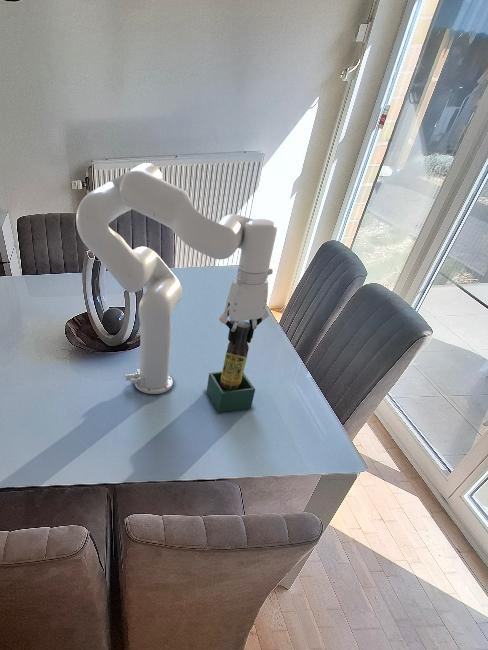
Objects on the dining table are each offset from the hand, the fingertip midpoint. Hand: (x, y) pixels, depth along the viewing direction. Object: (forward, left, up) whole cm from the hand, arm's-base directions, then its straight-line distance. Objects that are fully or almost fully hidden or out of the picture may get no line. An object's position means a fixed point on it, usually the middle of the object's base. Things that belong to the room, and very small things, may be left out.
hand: (239, 341), depth 131 cm
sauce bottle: (0, 0, -15) cm, 15 cm away
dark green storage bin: (0, 0, -20) cm, 20 cm away
